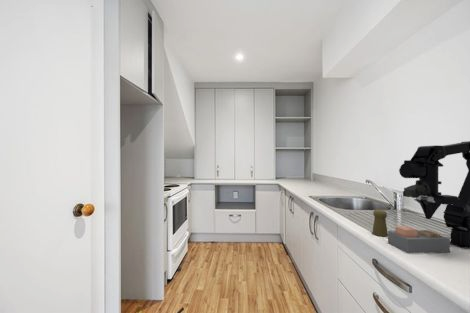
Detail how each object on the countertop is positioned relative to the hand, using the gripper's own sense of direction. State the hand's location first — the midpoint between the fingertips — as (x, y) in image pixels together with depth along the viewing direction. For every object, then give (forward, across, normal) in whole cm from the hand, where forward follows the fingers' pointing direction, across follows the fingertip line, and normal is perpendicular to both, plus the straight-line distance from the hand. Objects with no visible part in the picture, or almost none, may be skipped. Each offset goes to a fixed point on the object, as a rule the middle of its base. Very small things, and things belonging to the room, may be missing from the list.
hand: (428, 218), depth 90 cm
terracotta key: (+9, 0, -9) cm, 13 cm away
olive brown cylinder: (+11, -16, -8) cm, 21 cm away
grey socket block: (+11, 0, -4) cm, 12 cm away
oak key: (+11, 0, 0) cm, 11 cm away
